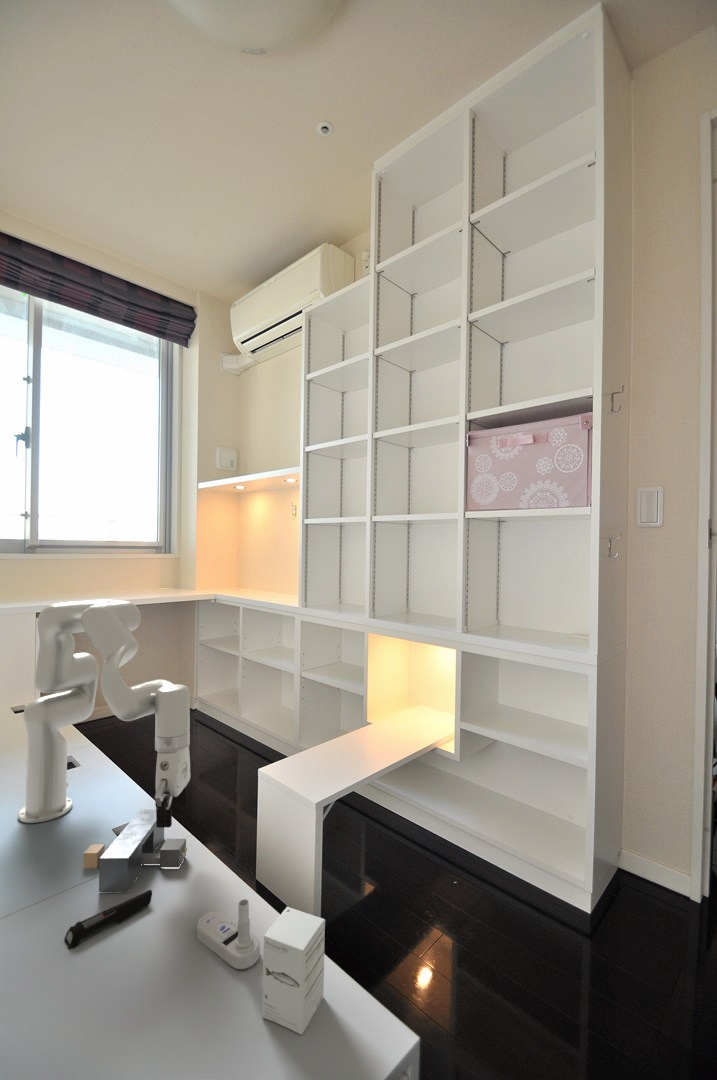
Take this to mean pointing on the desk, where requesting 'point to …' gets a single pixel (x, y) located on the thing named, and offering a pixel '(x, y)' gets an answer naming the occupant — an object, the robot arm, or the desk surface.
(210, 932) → the electronic device
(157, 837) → the block
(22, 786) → the desk surface
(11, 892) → the desk surface
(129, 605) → the robot arm
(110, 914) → the electric trimmer
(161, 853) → the lever
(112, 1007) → the desk surface
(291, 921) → the supplement box
